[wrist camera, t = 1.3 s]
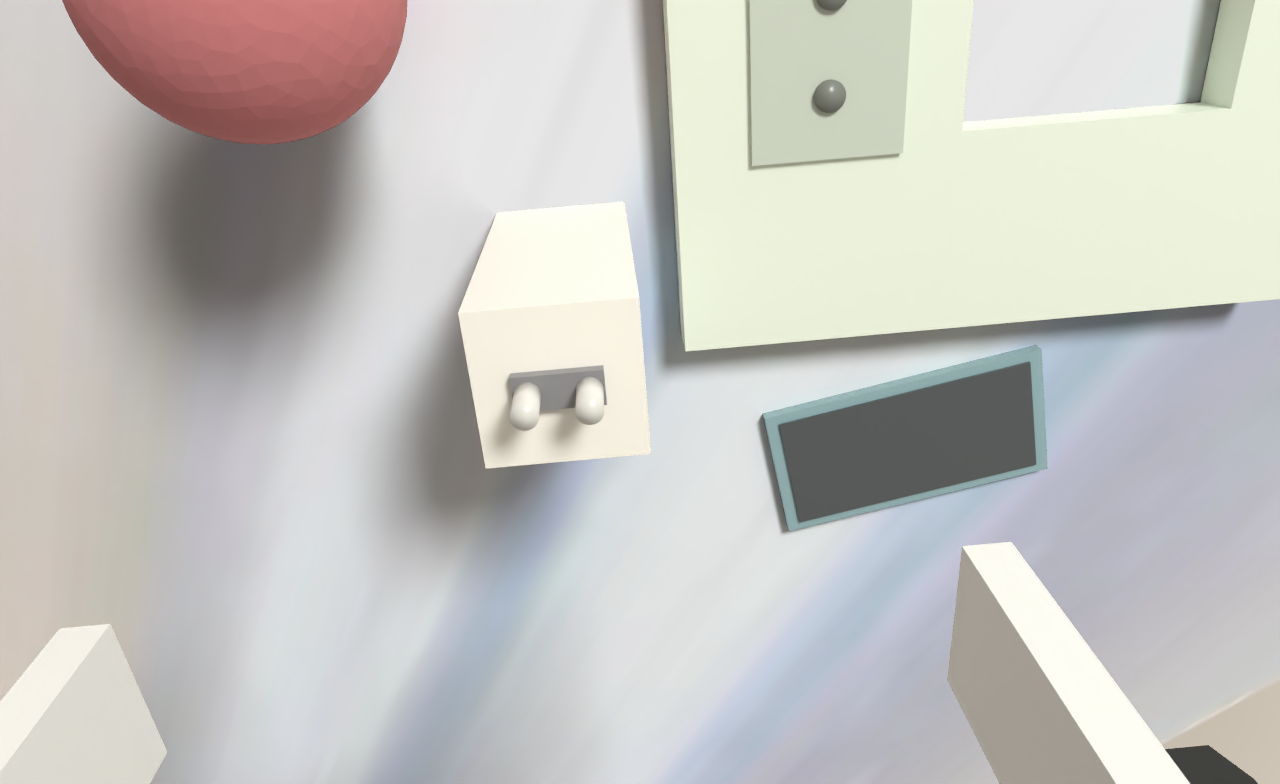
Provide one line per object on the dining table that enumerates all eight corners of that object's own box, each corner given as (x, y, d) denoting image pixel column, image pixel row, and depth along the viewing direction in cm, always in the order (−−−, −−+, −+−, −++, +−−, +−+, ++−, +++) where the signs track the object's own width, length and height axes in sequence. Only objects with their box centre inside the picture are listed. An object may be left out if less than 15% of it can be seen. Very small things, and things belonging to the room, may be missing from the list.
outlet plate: (681, 334, 33) (686, 355, 31) (653, -162, 26) (658, -172, 24) (1250, 284, 33) (1288, 302, 31) (1378, -219, 26) (1435, -233, 24)
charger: (514, 330, 32) (478, 501, 22) (496, 212, 30) (448, 337, 20) (633, 320, 32) (655, 485, 22) (624, 201, 30) (642, 320, 20)
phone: (784, 518, 37) (789, 532, 36) (760, 407, 35) (765, 420, 34) (1036, 456, 37) (1048, 470, 36) (1029, 339, 34) (1042, 350, 33)
